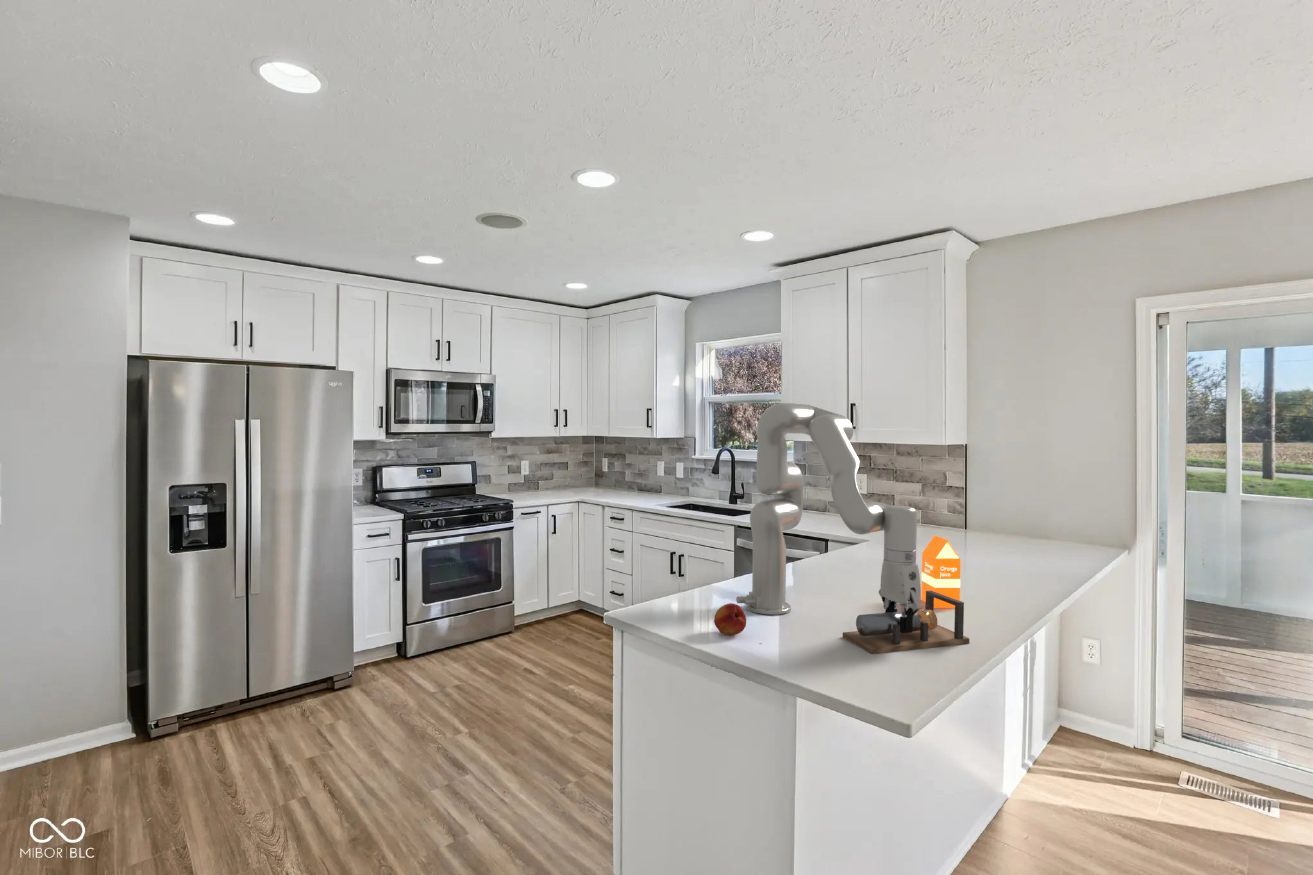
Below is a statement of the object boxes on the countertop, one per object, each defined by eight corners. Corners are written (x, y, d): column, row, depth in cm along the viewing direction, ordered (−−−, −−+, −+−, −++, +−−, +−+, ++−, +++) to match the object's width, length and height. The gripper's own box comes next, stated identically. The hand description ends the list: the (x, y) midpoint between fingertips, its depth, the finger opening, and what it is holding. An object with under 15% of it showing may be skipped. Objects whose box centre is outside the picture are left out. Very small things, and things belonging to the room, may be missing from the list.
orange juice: (945, 599, 195) (946, 535, 195) (960, 607, 186) (961, 540, 186) (920, 599, 195) (921, 535, 194) (934, 607, 186) (935, 540, 186)
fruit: (720, 641, 155) (721, 609, 155) (709, 631, 163) (709, 600, 163) (750, 638, 157) (750, 607, 157) (737, 628, 165) (737, 598, 165)
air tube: (865, 640, 153) (870, 623, 151) (854, 626, 157) (859, 609, 155) (933, 633, 158) (939, 617, 156) (921, 620, 163) (927, 604, 161)
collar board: (871, 653, 148) (872, 610, 148) (842, 637, 159) (843, 596, 159) (969, 643, 156) (970, 602, 156) (934, 628, 167) (935, 589, 167)
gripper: (936, 562, 149) (935, 638, 150) (890, 548, 166) (889, 617, 166) (910, 564, 147) (908, 641, 148) (865, 550, 164) (864, 619, 164)
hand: (898, 628), depth 157 cm, fingers closed on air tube, 5 cm apart
